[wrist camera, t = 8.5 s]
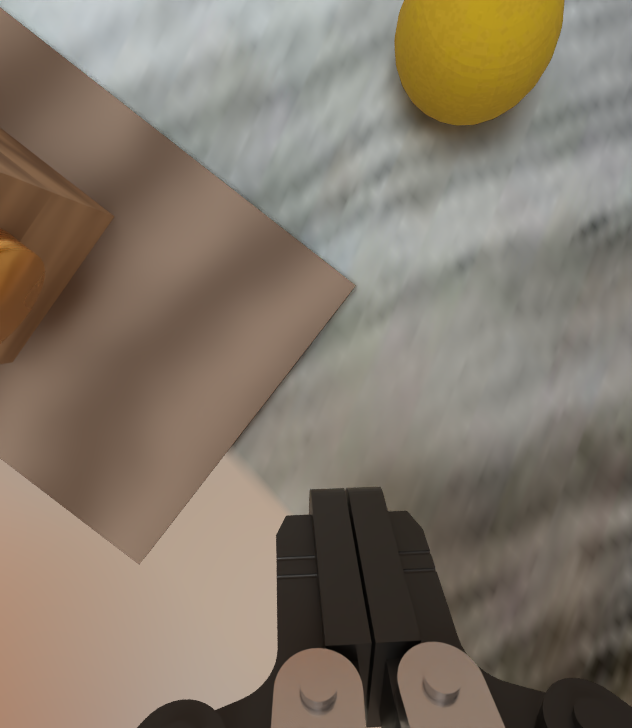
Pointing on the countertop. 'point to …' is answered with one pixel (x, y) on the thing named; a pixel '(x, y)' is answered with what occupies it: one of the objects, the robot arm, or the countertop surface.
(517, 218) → the countertop surface
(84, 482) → the hitch post
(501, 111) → the lemon
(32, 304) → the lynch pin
